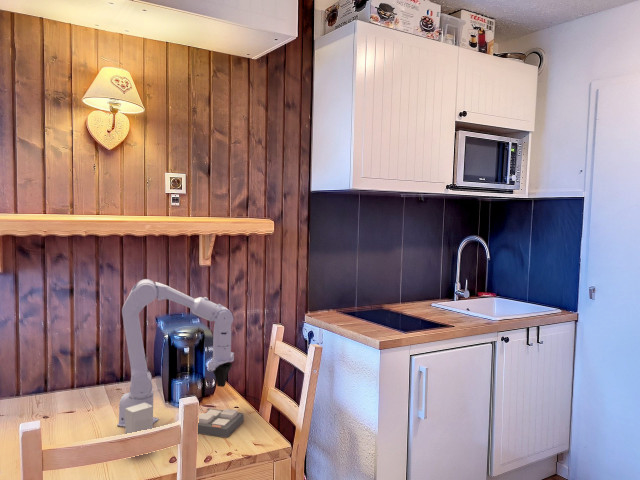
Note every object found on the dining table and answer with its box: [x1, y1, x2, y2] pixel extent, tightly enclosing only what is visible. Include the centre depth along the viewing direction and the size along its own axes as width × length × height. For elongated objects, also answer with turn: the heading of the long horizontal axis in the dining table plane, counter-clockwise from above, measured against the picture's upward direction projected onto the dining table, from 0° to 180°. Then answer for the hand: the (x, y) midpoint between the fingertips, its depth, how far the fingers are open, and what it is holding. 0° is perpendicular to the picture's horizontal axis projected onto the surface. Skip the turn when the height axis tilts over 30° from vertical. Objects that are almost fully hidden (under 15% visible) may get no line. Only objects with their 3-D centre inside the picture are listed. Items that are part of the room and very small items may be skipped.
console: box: [197, 407, 245, 438], centre depth 145 cm, size 12×12×3 cm
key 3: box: [212, 418, 230, 427], centre depth 142 cm, size 4×4×2 cm
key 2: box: [206, 408, 222, 417], centre depth 148 cm, size 4×4×2 cm
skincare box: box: [124, 402, 154, 435], centre depth 128 cm, size 6×4×12 cm
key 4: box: [220, 408, 239, 420], centre depth 147 cm, size 4×4×2 cm
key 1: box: [198, 412, 214, 424], centre depth 143 cm, size 4×4×2 cm
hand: (221, 385), depth 154 cm, fingers closed
